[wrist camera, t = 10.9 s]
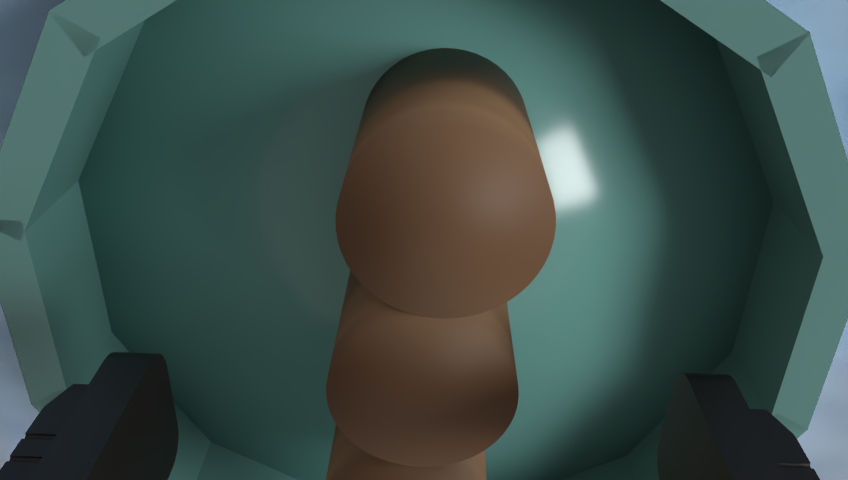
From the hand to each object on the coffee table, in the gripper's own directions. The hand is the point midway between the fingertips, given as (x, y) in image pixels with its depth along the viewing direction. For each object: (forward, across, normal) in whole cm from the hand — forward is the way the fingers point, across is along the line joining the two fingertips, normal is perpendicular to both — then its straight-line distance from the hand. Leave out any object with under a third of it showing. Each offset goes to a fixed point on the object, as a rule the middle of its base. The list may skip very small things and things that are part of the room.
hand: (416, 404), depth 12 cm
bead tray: (+5, 0, 0) cm, 5 cm away
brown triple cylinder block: (+4, 0, 0) cm, 5 cm away
